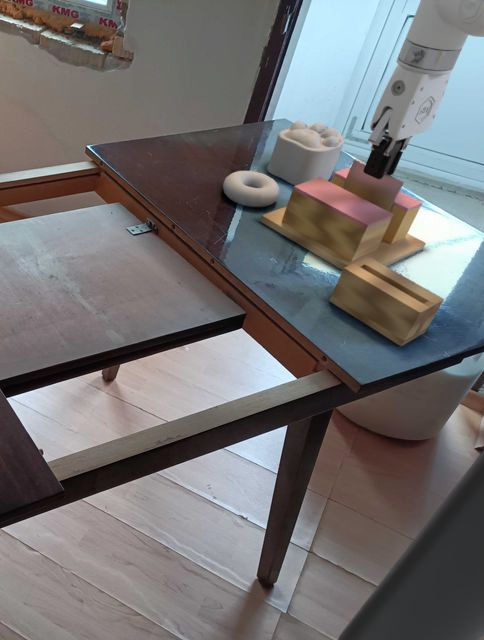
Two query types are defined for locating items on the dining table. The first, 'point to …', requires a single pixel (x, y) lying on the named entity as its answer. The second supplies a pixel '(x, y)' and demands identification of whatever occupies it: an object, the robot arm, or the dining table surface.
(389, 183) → the flat grey rectangular blade
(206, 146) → the dining table surface
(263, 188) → the donut
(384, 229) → the cake
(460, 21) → the robot arm
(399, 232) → the cake slice
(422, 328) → the knife block
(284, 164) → the lumpy-topped squat cylinder
